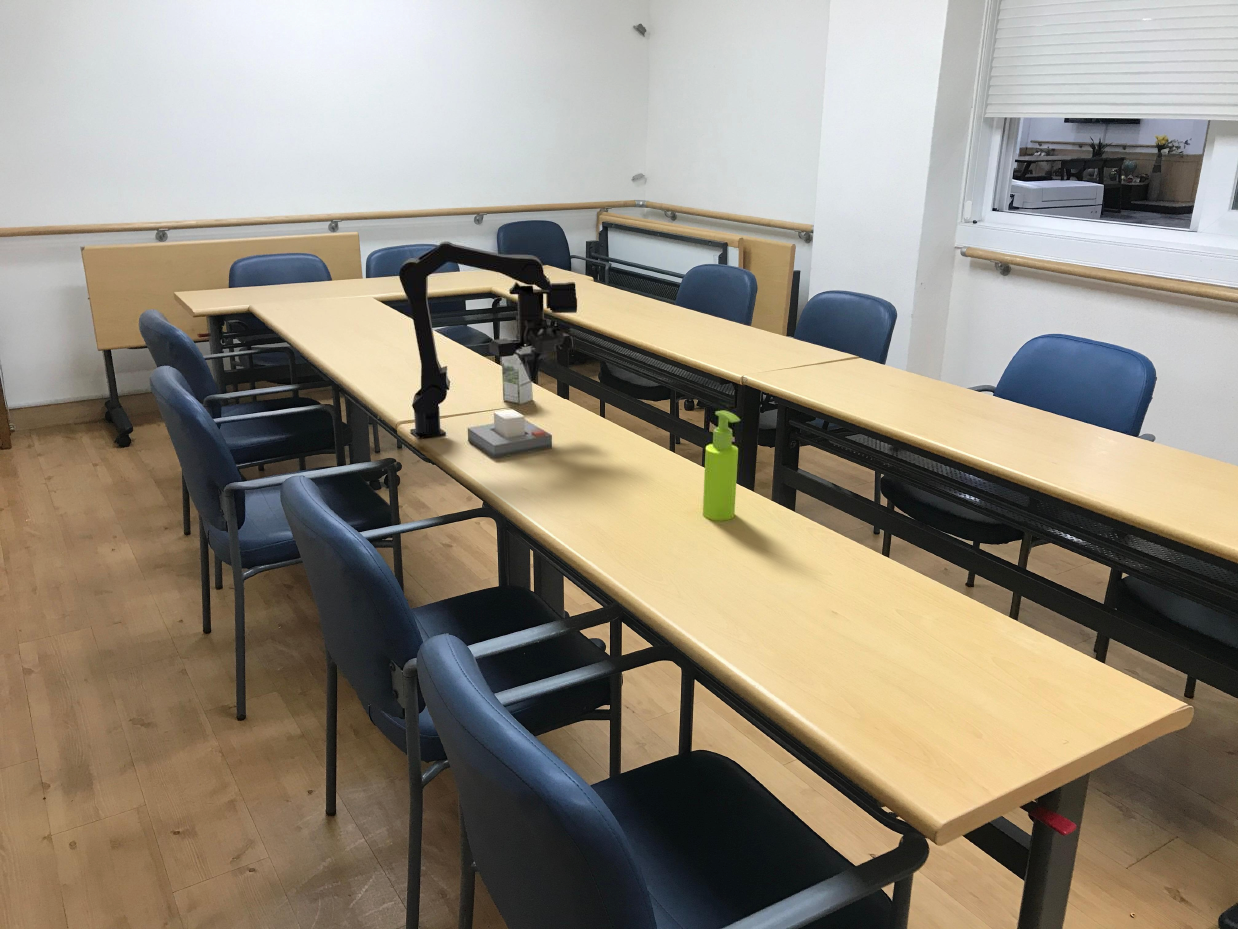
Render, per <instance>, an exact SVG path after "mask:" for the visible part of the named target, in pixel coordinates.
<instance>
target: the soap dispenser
mask: <svg viewBox="0 0 1238 929" xmlns="http://www.w3.org/2000/svg"><path fill="white" fill-rule="evenodd" d="M714 414H715V415H716V416H717V417H718V426H717V427H716V428H713V432H712V433H713V434H712V443H709V444H708V445H706V446H705V456H704V459H705V460H704V480H703V498H702V499H703V500H702V516H703V517H704V518H706V519H708V520H711V521H729V520H731V519H733V518H734V517H735V512H736V511H735V510H736V508H735V507H736V496H737V495H736V493H737V491H736V490H737V477H738V476H737V474H738V460H739V448H738V447H737V446H736V445H734V444H732V443H733V430H732V428H730V427H729V423H731V424H732V423H738V422H741V419H740V418H739V417H738V415H736V414H734V412H730V411H728V410H717V411H715V413H714Z"/></svg>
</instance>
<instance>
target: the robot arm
mask: <svg viewBox="0 0 1238 929" xmlns="http://www.w3.org/2000/svg"><path fill="white" fill-rule="evenodd" d="M447 263H453V264H455V265H456V264H457V265H462V266H467V267H470V268H477V269H481V270H485V271H490V272H495V273H497V274H502V275H504V276H506V277H509V278H511V279H512V280H515V282H514V284H513V285H512V286H511V287H510V288H509V290H508V291H509V294H510V295H517V316H515V322H517V323H518V325H517V326H518V334H515V339H516V340H518V341H511V340H510V339H507V338H499V339H492V340H491V341H490V343H489V345H488V352H489V353H490V354H492V355H495V356H496V357H499V358H502V357H507V356H513V355H514V354H516V355H518V357H519V359H520V361H521V362H522V364H523V366H524V369H525V371H526V373H527V375H528V378H529V380H530V381H532V382H535V381H536V378H537V377H538V376H537V375H538V373H539V369H540V367H541V364H542V362H543V360H544V358H546V357H547V356H548V355H550V354H551V353H552V352H555V351H556V348H557V346H558V348H560V349H561V350H567V349H572V348H573V347H574V340H573V338H572V336H571V335H569V334H567V333H565V332H564V329H563V328H562V327H553V328H549V327H548V321H547V318H545V317H544V316H545V314H544V310H545V308H544V307H545V306H544V304H546V309H547V310H549V311H551V314H577V312H578V298H577V291H576V283H575V282H574V281H568V282H551V280H550V278H549V277H547V276H546V274H545V272H544V271H545V270H544V267H543V264H542V262H541V261H540V259H539V258H538V257H537V256H535V255H532V254H501V253H496V252H491V251H487V250H483V249H478V248H474V247H469V246H465V245H459V244H456V243H452V242H450V241H442V242H440V243H439V244H438V245H437V246H436V247H433V248H432V249H431V250H429V251H427V252H425V253H424V254H422V255H421V256H419V257H418V258H417V257H411V258H407V259H406V260H405V261H404V262H403V263H402V265H401V267H400V270H399V273H398V277H399V280H400V284H401V286H402V289H403V292H404V294H405V296H406V298H407V300H408V303H409V305H410V310H411V315H412V322H413V325H414V332H415V338H416V343H417V348H418V354H419V360H420V366H421V367H420V368H421V369H420V388H419V389H418V391H416V392H415V393H414V396H413V400H412V404H411V407H412V409H413V416H414V428H412V429H409V432H410V433H411V434H412V435H414V436H415V437H416V438H418V439H419V440H421V439H428V438H434V437H440V436H446V435H447V431H445V430H444V429H442V428H441V416H440V406H439V405H440V404H442V403H444V402H445V400H446V398H447V396H448V391H450V387H451V381H450V379H449V376H448V365H446V366H441V364H440V360H439V358H438V353H437V352H438V351H437V347H436V342H435V341H436V340H435V336H434V331H433V330H434V329H433V325H432V319H431V313H430V307H429V302H428V291H429V290H428V288H429V287H428V286H429V283H428V282H429V280H428V279H429V276H431V275H432V274H433V273H435V272H436V271H437V270H439V269H440V268H441V267H443V266H444V265H446V264H447ZM518 282H519V283H518ZM520 283H522V284H524V285H520ZM534 286H536V287H537V288H539V289H537V288H534ZM544 295H545V303H544Z"/></svg>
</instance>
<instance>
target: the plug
mask: <svg viewBox="0 0 1238 929" xmlns="http://www.w3.org/2000/svg"><path fill="white" fill-rule="evenodd" d="M525 420H526V419H525V415H523V414H521V413H520V412H517V411H516V410H515V409H512V408H511V409H507V410H499V411H493V423H494V431H495V432H496V433H498V434H499V435H500V436H501V437H504V438H509V437H515V436H520V435H525Z"/></svg>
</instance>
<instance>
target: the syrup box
mask: <svg viewBox="0 0 1238 929" xmlns="http://www.w3.org/2000/svg"><path fill="white" fill-rule="evenodd" d="M501 373H502V374H501V375H502V400H503V401H504V402H509V403H511V404H512V403H513V404H517V405H523V404H525V403H527V402H530V401H533V399H534V395H533V394H534V393H533V392H534V391H533V381H530V380H529V378H528V375H527V373H526V371H525V369H524V366H523V364H522V362H521V361H520V359H519V357H518V355H516V354H514V355H513V356H507V357H501Z"/></svg>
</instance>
